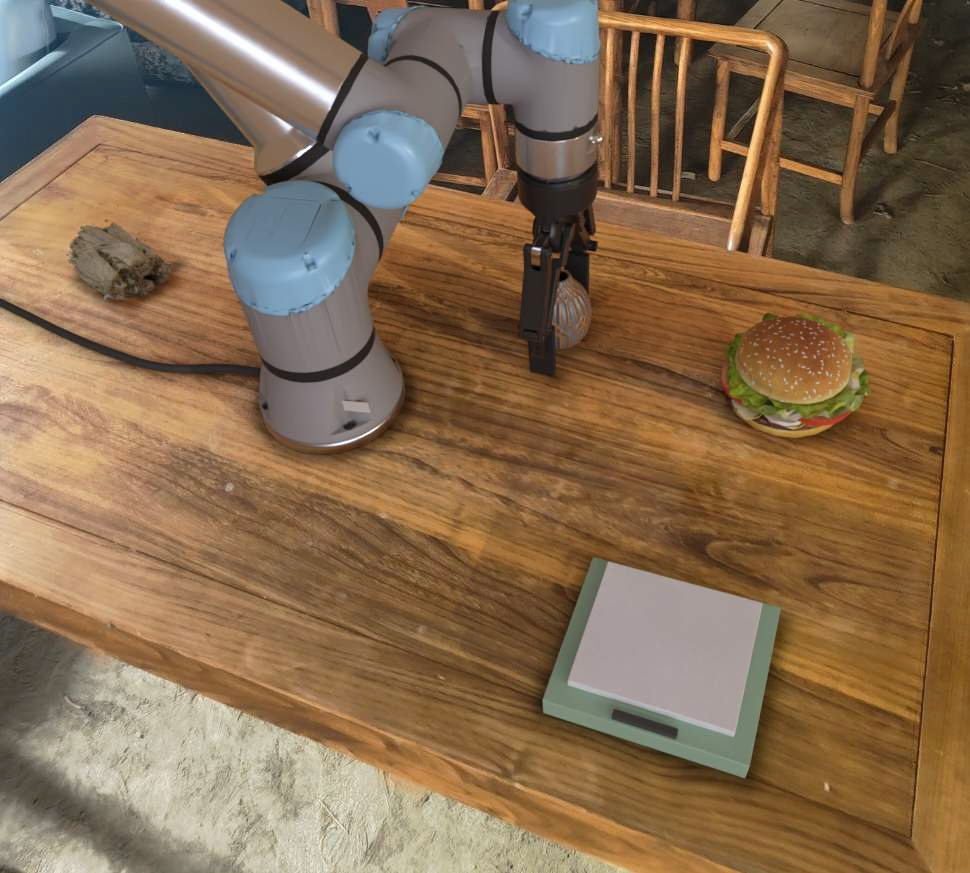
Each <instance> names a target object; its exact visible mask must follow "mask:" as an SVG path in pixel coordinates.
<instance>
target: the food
mask: <svg viewBox="0 0 970 873" xmlns="http://www.w3.org/2000/svg"><path fill="white" fill-rule="evenodd" d="M733 337H734V338H733V339H732V340H731V343H729V344H728V345H727V346H726V351H725V361H724V363H723V365H722V367H721V374H720V383H721V388H722V390H723V391H722V392H723V394H724V397H725V399H726V402H727V405H728V406H729V407H731V408H732V410H733V412H734V413H735V415H736V416H737V417H739V418H740V419H741V420H742V421H744V422H745V423H746V424H748V425H749V426H751V427H752V428H753V429H755V430H756V431H760V432H763V433H765V434H769V435H770V436H771V435H772V436H775V437H783V438H792V439H798V438H804V437H810V436H815V435H817V434H819V433H821V432H823V431H826V430H828V429H830V428H831V427H832V426H833V425H835V424H837V423H839V422H841V421H843V420H844V419H846V417H848V416H849V415H850V414H851V413H852V412H856V411H857V410H858V409H859V408H861V406H862V404H863V402H864V400H865V397H866V396H870V395H871V386H870V385H869V375H868V373H867V370H866V366H865V362H864V359H863V358H862V357H861V356H859V355H857V354H855V351H854V347H855V337H854V336H853V334H851V332H849V331H848V330H845V331H844V330H842V329H841V328H839V326H838V325H837V324H832V323H830V322H827V321H825V320H823V319H822V318H820V317H817V316H812V315H808V314H805V313H797V314H796V315H795V316H784V315H783V316H778V315H777V314H775V313H772V312H766V313H764V314H763V316H762V319H761V321H760V322H758V323H756V324H754V325H752V326H750V327H749V328H748V329H747V330H746V331H743V332H740V333H739V332H738V333H736V334H735V335H734V336H733Z"/></svg>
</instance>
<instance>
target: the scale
mask: <svg viewBox="0 0 970 873" xmlns="http://www.w3.org/2000/svg"><path fill="white" fill-rule="evenodd" d="M781 610H782V607H780V606H777V605H773V604H770V603H766V602H762V601H758V600H755V599H751V598H747V597H743V596H739V595H736V594H732V593H728V592H725V591H721V590H718V589H713V588H710V587H707V586H702V585H699V584H695V583H691V582H687V581H683V580H681V579H677V578H673V577H669V576H665V575H661V574H658V573H654V572H650V571H647V570H643V569H639V568H636V567H632V566H628V565H624V564H620V563H617V562H613V561H609V560H606V559H602V558H598V557H594V556H593V557H592V559H591V562H590V563H589V567H588V570H587V572H586V576H585V578H584V581H583V583H582V587H581V590H580V592H579V595H578V598H577V601H576V604H575V606H574V609H573V612H572V614H571V618H570V621H569V623H568V626H567V629H566V632H565V634H564V637H563V640H562V643H561V645H560V649H559V651H558V654H557V656H556V660H555V663H554V665H553V669H552V672H551V674H550V677H549V680H548V683H547V685H546V688H545V691H544V694H543V696H542V699H541V700H542V713H543V714H546V715H548V716H551V717H554V718H558V719H561V720H564V721H567V722H570V723H573V724H576V725H580V726H583V727H586V728H588V729H591V730H595V731H598V732H600V733H604V734H607V735H610V736H613V737H616V738H619V739H621V740H626V741H629V742H630V743H631V742H632V743H634V744H638V745H641V746H644V747H647V748H650V749H652V750H656V751H660V752H662V753H665V754H668V755H672V756H675V757H678V758H681V759H684V760H687V761H690V762H694V763H696V764H700V765H703V766H706V767H709V768H712V769H715V770H718V771H721V772H725V773H727V774H730V775H733V776H737V777H740V778H743V779H745V778H747V774H748V773H749V769H750V766H751V763H752V756H753V751H754V746H755V742H756V736H757V731H758V727H759V726H758V725H759V721H760V715H761V711H762V706H763V701H764V696H765V691H766V686H767V682H768V681H767V680H768V675H769V670H770V665H771V660H772V656H773V650H774V645H775V641H776V640H775V639H776V634H777V630H778V624H779V620H780V615H781Z"/></svg>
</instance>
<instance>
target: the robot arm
mask: <svg viewBox="0 0 970 873" xmlns="http://www.w3.org/2000/svg"><path fill="white" fill-rule="evenodd" d="M83 1H84V2H86V3H87V4H89V5H91V6H93V7H94V8H96V9H98V10H99V11H100V12H103V13H104V14H106V15H107V16H108V17H111V18H112V19H114V20H116V21H118V22H119V23H120V24H122V25H124V26H126V27H127V28H129V29H130V30H132V31H134V32H135V33H137V34H139V35H140V36H142V37H143V38H145V39H147V40H148V41H151V42H152V43H153V44H155V45H157V46H159V47H160V48H162V49H164V50H165V51H166V52H169V53H170V54H172V55H174V56H175V57H177V58H178V59H179V60H180V62H181V63H182V64H183V65H184V66H185V67H186V68H187V70H188V71H189V72H190V73H191V74H192V76H194V79H196V80H197V82H198V83H199V84H200V85H201V86H202V88H204V90H205V92H207V94H209V96H210V97H211V98H212V99H213V101H214V102H215V103H216V104H217V106H218V107H219V108H220V109H221V110H222V111H223V112H224V113H225V115H226V116H227V117H228V118H229V120H230V121H231V122H232V123H233V124H234V125H235V126H236V127H237V129H238V130H239V131H240V133H241V134H242V135H243V136H244V138H246V139H247V141H248V142H249V143H250V144H251V146H252V147H253V172H254V173H255V174H256V175H257V176H258V178H259V179H260V180H261V181H262V182H263V183H264V185H265V186H266V187H264V188H263V193H261V194H256V193H253V194H251V195H250V196H248V197H247V198H245V200H243V201H242V202H241V203H240V204H239V205H238V206H237V207H236V209H235V210H234V211H233V212H232V214H231V216H229V220H228V222H227V224H226V226H225V229H224V235H223V242H222V244H223V247H222V248H223V253H224V257H225V261H226V268H227V269H226V270H227V273H228V278H229V281H230V284H231V286H232V288H233V290H234V293H235V294H236V295H237V298H238V301H239V304H240V307H241V309H242V311H243V315H244V317H245V320H246V323H247V325H248V328H249V331H250V334H251V337H252V339H253V343H254V344H255V345H254V346H255V348H256V350H257V353H258V355H259V359H260V367H259V366H252V365H242V364H234V363H233V364H232V363H231V364H230V363H196V364H195V363H193V364H191V363H190V364H188V363H186V364H185V363H183V364H182V363H181V364H180V363H169V362H168V363H167V362H159V361H154V360H149V359H145V358H141V357H139V356H135V355H132V354H129V353H126V352H124V351H121V350H118V349H116V348H112V347H109V346H106V345H103V344H101V343H98V342H96V341H93V340H91V339H88V338H86V337H83V336H82V335H79V334H77V333H75V332H73V331H70V330H67V329H66V328H63V327H61V326H59V325H57V324H54V323H52V322H50V321H49V320H47V319H45V318H43V317H41V316H39V315H36V314H34V313H33V312H30V311H28V310H26V309H24V308H22V307H20V306H18V305H16V304H14V303H11V302H10V301H8V300H6V299H4V298H1V297H0V308H1V309H3V310H6V311H8V312H10V313H11V314H14V315H15V316H17V317H20V318H22V319H24V320H26V321H28V322H30V323H32V324H34V325H35V326H38V327H40V328H42V329H44V330H46V331H48V332H49V333H52V334H54V335H56V336H58V337H61V338H62V339H65V340H67V341H69V342H72V343H73V344H76V345H79V346H80V347H83V348H86V349H88V350H90V351H93V352H95V353H98V354H101V355H103V356H106V357H109V358H111V359H112V358H113V359H115V360H118V361H120V362H122V363H124V364H125V363H126V364H129V365H131V366H134V367H137V368H142V369H145V370H150V371H154V372H161V373H169V374H236V375H242V376H249V377H250V376H251V377H257V378H258V377H259V384H258V385H259V386H258V407H259V408H258V409H259V411H260V414H261V418H262V420H263V422H264V425H265V427H266V429H267V430H268V432H269V433H270V435H271V436H272V437H273V438H274V439H275V440H276V441H277V442H279V443H280V444H281V445H283V446H285V447H287V448H289V449H292V450H294V451H298V452H301V453H306V454H311V455H312V454H313V455H331V454H338V453H343V452H347V451H351V450H354V449H356V448H360V447H362V446H364V445H366V444H368V443H370V442H371V441H374V440H375V439H377V438H378V437H380V436H382V434H383V433H384V432H386V431H387V430H388V429H389V428H390V427H391V426H392V425H393V424H394V423H395V421H396V420H397V418H398V417H399V416H400V414H401V412H402V409H403V408H404V407H403V406H404V405H405V399H406V386H405V379H404V375H403V371H402V369H401V366H400V364H399V362H398V361H397V359H396V357H395V356H394V355H393V353H392V352H391V351H390V350H389V349H388V348H387V347H386V346H385V345H384V342H383V340H382V339H381V337H380V336H379V334H378V333H377V331H376V328H375V324H374V321H373V315H372V310H371V306H370V302H369V297H368V290H369V284H370V282H371V279H372V278H373V275H374V273H375V271H376V269H377V267H378V265H379V262H380V261H381V259H382V257H383V255H384V254H385V251H386V249H387V247H388V244H389V243H390V240H391V238H392V236H393V235H394V232H395V231H396V228H397V226H398V224H399V223H400V222H401V221H402V219H403V218H404V216H405V214H406V212H407V210H408V207H409V205H412V203H414V202H415V201H416V200H418V198H420V197H421V196H422V195H423V194H424V193H425V191H426V189H427V187H428V186H429V184H430V182H431V180H432V178H433V177H434V176H435V174H437V172H438V171H439V169H440V168H441V165H442V164H443V157H444V154H445V152H446V149H447V147H448V145H449V143H450V141H451V138H452V136H453V134H454V132H455V129H456V127H457V125H458V124H459V122H460V119H461V118H462V115H463V113H464V111H465V109H466V107H467V105H468V104H471V105H472V104H473V105H494V106H499V105H511V107H512V111H513V137H514V138H513V139H514V157H515V158H514V159H515V161H516V182H517V183H516V184H517V197H518V200H519V202H520V204H521V205H522V206H523V208H524V209H526V210H527V211H528V212H530V213H531V215H532V216H534V219H533V223H532V226H531V227H532V228H531V234H532V236H533V237H532V243H529V242H525V244H524V246H523V248H522V257H523V258H522V259H523V271H522V272H523V273H522V286H521V296H520V298H521V299H520V309H519V323H518V324H517V330H518V331H517V335H518V339H519V340H525V341H527V348H528V367H529V368H528V369H529V373H534V374H539V375H542V376H547V377H552V378H554V377H555V376H556V373H557V355H556V354H557V353H556V350H557V349H555V327H554V326H552V320H553V314H554V308H555V301H556V295H557V289H558V283H559V277H560V271H561V268H563V269H566V270H567V271H569V273H570V274H571V276H572V277H573V278H574V279H575V280H577V281H578V282H579V283H580V284H581V285H582V286H583V287H584V288H585V290H586V292H587V294H588V296H589V297H590V253H588V252H593V253H596V252H597V250H598V245H599V241H598V240H593V239H592V238H591V237H594V236H595V234H596V232H597V226H596V225H597V224H596V220H595V213H594V206H593V203H594V202H595V200H596V198H597V195H598V170H599V168H598V167H599V166H598V160H597V157H598V145H602V143H603V142H604V134H603V132H602V133H601V132H598V125H599V102H600V101H599V100H600V99H599V98H600V97H599V96H600V73H601V72H600V71H601V69H600V68H601V49H602V40H601V39H600V21H599V19H600V18H599V1H598V0H507V6H506V8H502V9H501V10H498V9H497V10H496V9H478V8H477V9H475V8H474V9H472V8H453V7H450V8H449V7H433V6H431V7H430V6H426V5H423V4H420V5H413V6H409V7H408V6H407V7H389V8H385V9H383V10H381V11H380V12H379V13H378V14H377V15H376V16H375V18H374V20H373V22H372V25H371V34H370V36H368V43H367V55H366V54H365V53H364V52H362V51H360V50H359V49H357V48H355V47H354V46H352V45H351V44H350V43H348V42H346V41H345V40H343V39H342V38H340V37H339V36H337V35H335V34H334V33H332V32H331V31H329V30H327V29H326V28H325V27H323V26H322V25H321V24H319V23H317V22H315V21H314V20H312V19H311V18H309V17H308V16H306V15H305V14H303V13H302V12H300V11H298V10H296V9H295V8H294V7H292V6H291V5H289V4H288V3H286V2H284V0H83ZM554 254H556V255H557V254H558V255H559V257H554Z"/></svg>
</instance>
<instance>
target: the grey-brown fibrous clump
mask: <svg viewBox="0 0 970 873" xmlns="http://www.w3.org/2000/svg"><path fill="white" fill-rule="evenodd" d="M109 221H110V220H109V219H104V222H105V223H106V222H109ZM94 225H95V224H94V223H92V224H91V225H88V224H86V225H85V226H83V225H80V230H77V232H76V234H77V236H75V237H74V238H72V240H71V241H70V243H69V249H70V250H68V253H66V255H65V256H67V257H69V258H68V259H67V262H68V263H69V264H71V265H72V266H74V267H73V270H74V271H75V273H77V274H78V276H79V277H80V278H81V279H82V281H84V283H85V284H87V285H88V286H90V287H92V288H93V289H94V290H96V291H98V292H99V293H101V294H103V295H104V296H103V300H102V304H104V303H105V302H106V301H107V298H108V299H112V300H115V301H120V300H123V301H125V299H131V298H138V297H141V296H146V295H148V294H150V293H151V292H154V290H156V288H157V287H158V286H161V284H163V283H165V282H166V281H167V280H169V278H170V274H171V273H172V271H173V268H172V267H175V264H173V263H168V262H166V261H165V260H164V259H163V258H162V257H161V256H159V255H158V254H157V253H156V252H154V251H153V250H152V249H151V247H150V246H148V245H147V244H145V243H143V242H141V240H140V239H139V238H138V237H137V236H135V238H134V237H133V236H132V235H131V234H130V233H129V232H127V230H125V229H124V228H123V227H122V226H120V225H119V224H118V223H115V222H114V221H113V222H111V223H110V225H108V226H103V227H101V226H97V225H96V226H94ZM132 234H133V235H135V233H134V232H132Z"/></svg>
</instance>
